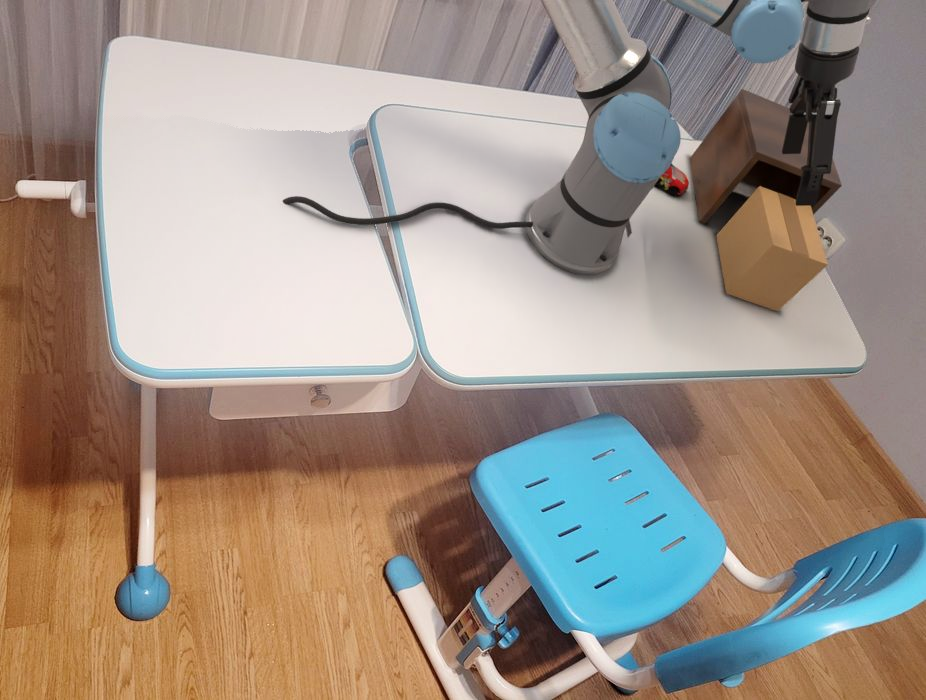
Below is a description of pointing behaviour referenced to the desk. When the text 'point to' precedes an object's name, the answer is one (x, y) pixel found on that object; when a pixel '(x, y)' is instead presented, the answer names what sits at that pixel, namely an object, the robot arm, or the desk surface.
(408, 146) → the desk surface
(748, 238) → the box
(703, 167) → the cabinet
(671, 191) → the race car
